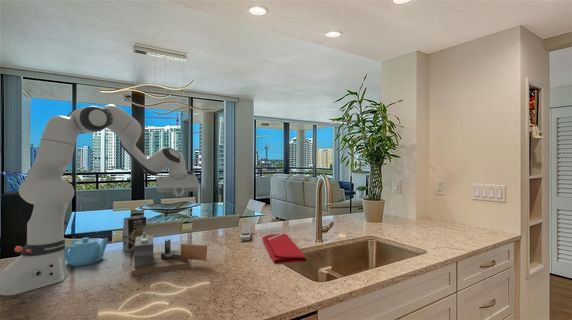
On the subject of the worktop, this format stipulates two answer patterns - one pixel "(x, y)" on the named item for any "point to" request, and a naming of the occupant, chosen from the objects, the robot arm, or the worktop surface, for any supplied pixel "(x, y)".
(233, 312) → the worktop surface
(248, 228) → the mobile phone
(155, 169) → the robot arm
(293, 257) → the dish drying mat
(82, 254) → the teapot
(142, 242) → the stand
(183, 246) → the wooden lever
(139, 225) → the coffee box
